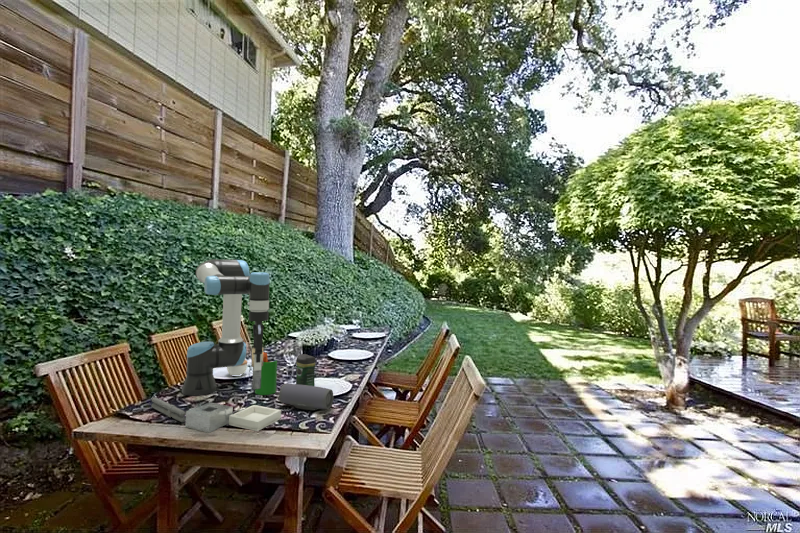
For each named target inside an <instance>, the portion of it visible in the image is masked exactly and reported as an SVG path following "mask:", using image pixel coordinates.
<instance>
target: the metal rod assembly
mask: <svg viewBox="0 0 800 533" xmlns="http://www.w3.org/2000/svg"><path fill="white" fill-rule="evenodd" d="M151 402H152V404H151V408H152V409H154V410H156V411H158V412H160V413H162V414H164V415H166V416H167V417H169V418H171V417H172V418H171V419H174V420H176V421H178V422H180V423H186V411H185V410H183V409H181V408H179V407H177V406H176V405H174V404H171V403H169V402H167V401H164V400H163V399H160V398H158V397H156V396H154V397H152V398H151Z"/></svg>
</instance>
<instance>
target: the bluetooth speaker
mask: <svg viewBox="0 0 800 533" xmlns="http://www.w3.org/2000/svg"><path fill="white" fill-rule="evenodd" d="M334 399H335V396H334V392H333V390H332V389H330V388H326V387H321V386H316V385H315V386H309V385H299V384H296V383H283V385H281V387H280V390H279V393H278V400H279V402H281V403H283V404H286V405H291V406H294V408H295V409H301V410H307V411H316V410H318V409H321V410H329V409H330V408H331V407H332V405H333V403H334Z"/></svg>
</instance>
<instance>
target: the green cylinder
mask: <svg viewBox="0 0 800 533" xmlns="http://www.w3.org/2000/svg"><path fill="white" fill-rule="evenodd" d="M268 356H269V355H268V353H267V352H264V351H263V366H261V388H260V389H254V394H255V395H258V396H259V395H260V396H269V395H274V394H275V393H277V381H278V380H277V377H278V376H277V375H278V360H273V361H271V360H268V358H269V357H268Z"/></svg>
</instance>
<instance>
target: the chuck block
mask: <svg viewBox="0 0 800 533" xmlns="http://www.w3.org/2000/svg"><path fill="white" fill-rule="evenodd" d="M185 412H186V415H185V418H186V420H185V428H187V429H191V430H192V429H193V430H197V431H200V432H205V433H211V432H214V431H216V430H218V429H219V428H222V427H223V426H226V425H229V416H230V415H232V414H234V412H233V406H229V405H225V404H220V403H215V402H211V401H210V402H207V403H205V404H202V405H200V406H197V407H194V408H191V409H189V410H186V411H185Z"/></svg>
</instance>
